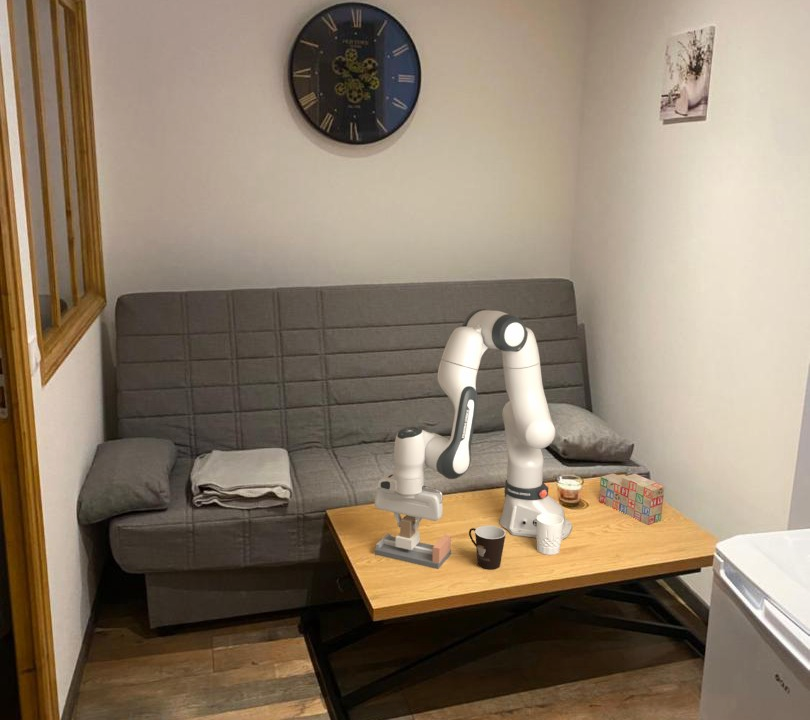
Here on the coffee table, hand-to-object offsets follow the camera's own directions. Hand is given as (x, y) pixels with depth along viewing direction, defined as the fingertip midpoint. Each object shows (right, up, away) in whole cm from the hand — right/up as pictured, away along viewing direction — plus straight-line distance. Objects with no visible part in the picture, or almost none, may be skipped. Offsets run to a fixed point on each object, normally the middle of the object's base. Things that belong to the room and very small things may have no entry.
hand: (407, 528), depth 236 cm
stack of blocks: (+73, -2, +33) cm, 80 cm away
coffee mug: (+23, -9, -3) cm, 25 cm away
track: (+1, -8, +1) cm, 8 cm away
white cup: (+42, -8, +5) cm, 43 cm away
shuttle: (0, -5, +1) cm, 5 cm away
